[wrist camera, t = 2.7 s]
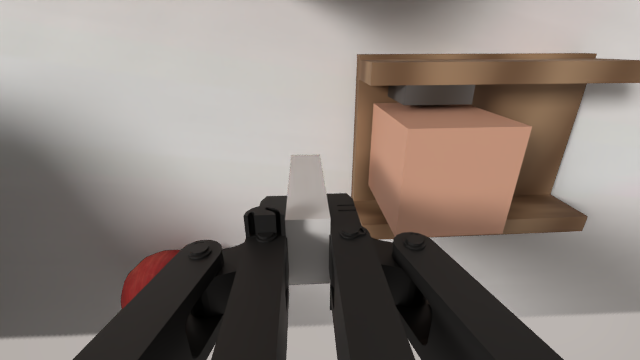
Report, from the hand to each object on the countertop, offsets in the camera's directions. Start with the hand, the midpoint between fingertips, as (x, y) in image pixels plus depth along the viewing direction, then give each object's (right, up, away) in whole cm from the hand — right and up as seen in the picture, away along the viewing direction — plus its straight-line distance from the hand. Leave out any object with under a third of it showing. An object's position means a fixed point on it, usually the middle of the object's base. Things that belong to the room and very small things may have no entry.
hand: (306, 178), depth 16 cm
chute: (+11, +3, +7) cm, 14 cm away
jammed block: (+7, +2, +5) cm, 10 cm away
